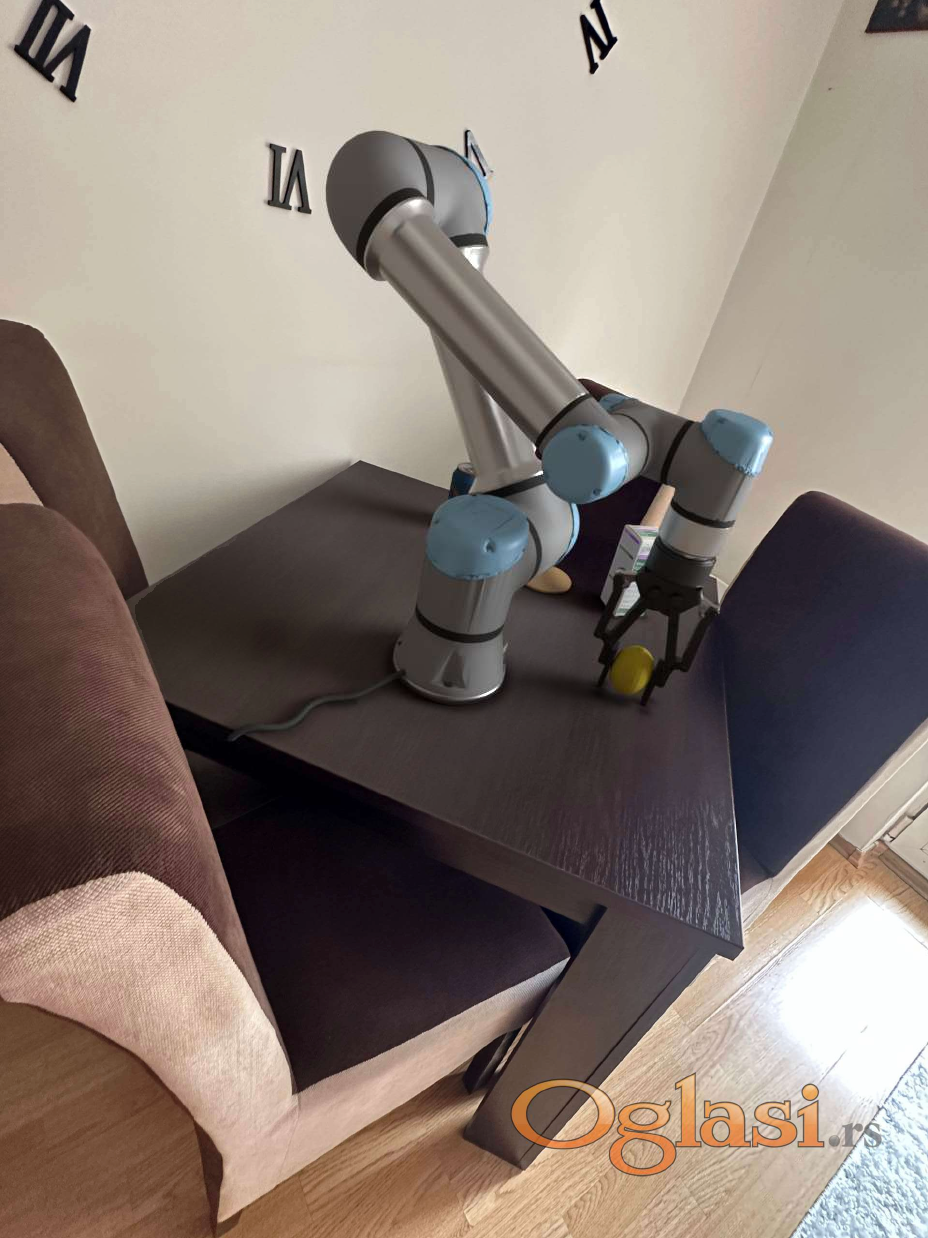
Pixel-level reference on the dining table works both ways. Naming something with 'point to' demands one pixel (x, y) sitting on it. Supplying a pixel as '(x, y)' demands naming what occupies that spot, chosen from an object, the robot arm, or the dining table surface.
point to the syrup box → (629, 563)
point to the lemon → (631, 669)
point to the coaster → (550, 581)
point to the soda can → (461, 480)
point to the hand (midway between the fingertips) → (622, 690)
